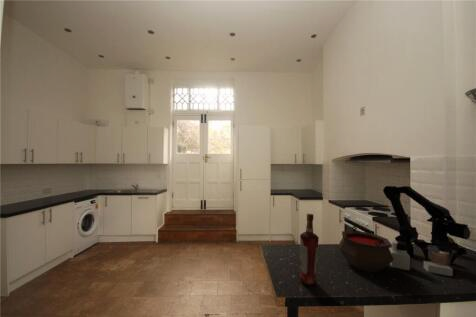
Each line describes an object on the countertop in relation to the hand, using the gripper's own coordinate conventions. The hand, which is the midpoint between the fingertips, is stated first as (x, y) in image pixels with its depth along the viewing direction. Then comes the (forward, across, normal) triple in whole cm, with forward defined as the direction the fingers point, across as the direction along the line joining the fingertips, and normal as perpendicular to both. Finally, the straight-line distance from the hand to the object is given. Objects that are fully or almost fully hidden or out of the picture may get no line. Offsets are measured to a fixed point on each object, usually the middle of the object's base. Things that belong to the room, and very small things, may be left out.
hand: (438, 263), depth 106 cm
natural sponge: (+2, +12, +26) cm, 29 cm away
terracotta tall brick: (+2, 0, 0) cm, 2 cm away
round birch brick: (+2, +6, +8) cm, 10 cm away
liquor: (+2, -59, -47) cm, 75 cm away
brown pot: (+2, -35, -18) cm, 39 cm away
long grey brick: (+2, -3, -8) cm, 9 cm away
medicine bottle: (+2, -19, -10) cm, 22 cm away
